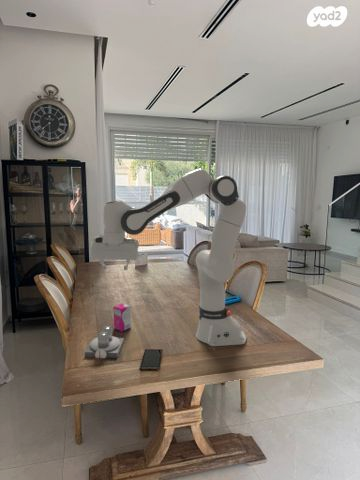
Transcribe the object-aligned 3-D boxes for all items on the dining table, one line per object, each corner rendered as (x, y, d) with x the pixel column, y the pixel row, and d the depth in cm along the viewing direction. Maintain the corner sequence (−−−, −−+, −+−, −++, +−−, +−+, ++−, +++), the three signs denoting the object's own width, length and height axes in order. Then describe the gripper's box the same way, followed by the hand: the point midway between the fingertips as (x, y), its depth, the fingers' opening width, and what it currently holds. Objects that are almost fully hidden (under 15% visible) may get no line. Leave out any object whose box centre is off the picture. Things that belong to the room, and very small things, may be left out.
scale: (124, 344, 142) (123, 334, 141) (117, 361, 128) (116, 350, 128) (94, 343, 142) (94, 334, 141) (84, 360, 129) (83, 349, 128)
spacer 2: (110, 343, 134) (110, 332, 133) (107, 348, 130) (107, 336, 129) (99, 343, 134) (99, 331, 134) (96, 348, 130) (96, 336, 129)
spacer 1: (113, 336, 140) (113, 325, 139) (111, 341, 136) (110, 330, 135) (103, 336, 140) (103, 325, 139) (100, 341, 136) (100, 330, 135)
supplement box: (122, 325, 159) (122, 302, 157) (131, 328, 155) (130, 305, 154) (113, 329, 155) (113, 306, 153) (121, 332, 151) (121, 309, 149)
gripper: (139, 237, 143) (139, 268, 145) (93, 236, 143) (94, 267, 146) (137, 239, 137) (137, 271, 139) (89, 238, 137) (90, 270, 139)
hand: (115, 269), depth 142 cm, fingers open, 8 cm apart
